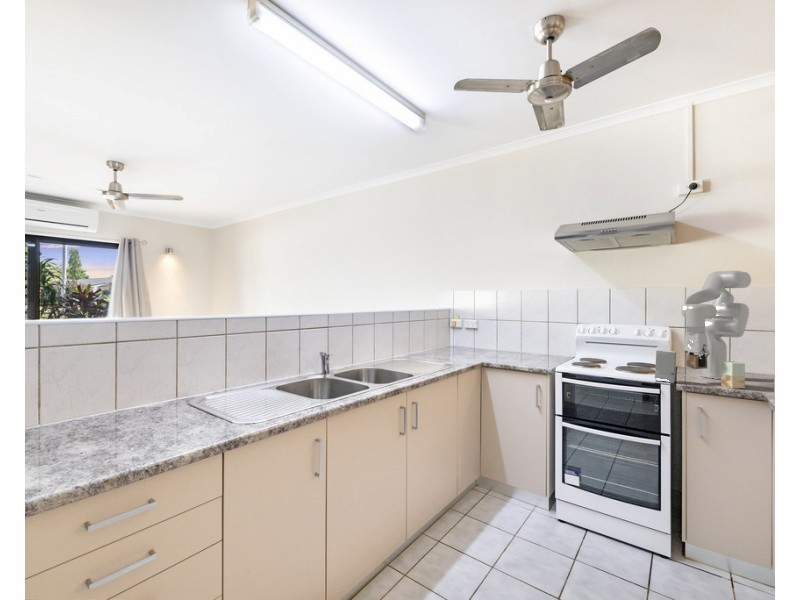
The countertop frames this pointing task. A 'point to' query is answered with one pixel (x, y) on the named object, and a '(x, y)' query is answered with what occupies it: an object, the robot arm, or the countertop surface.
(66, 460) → the countertop surface
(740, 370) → the sage block
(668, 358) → the skincare box
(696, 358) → the walnut block
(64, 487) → the countertop surface
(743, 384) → the oak block
